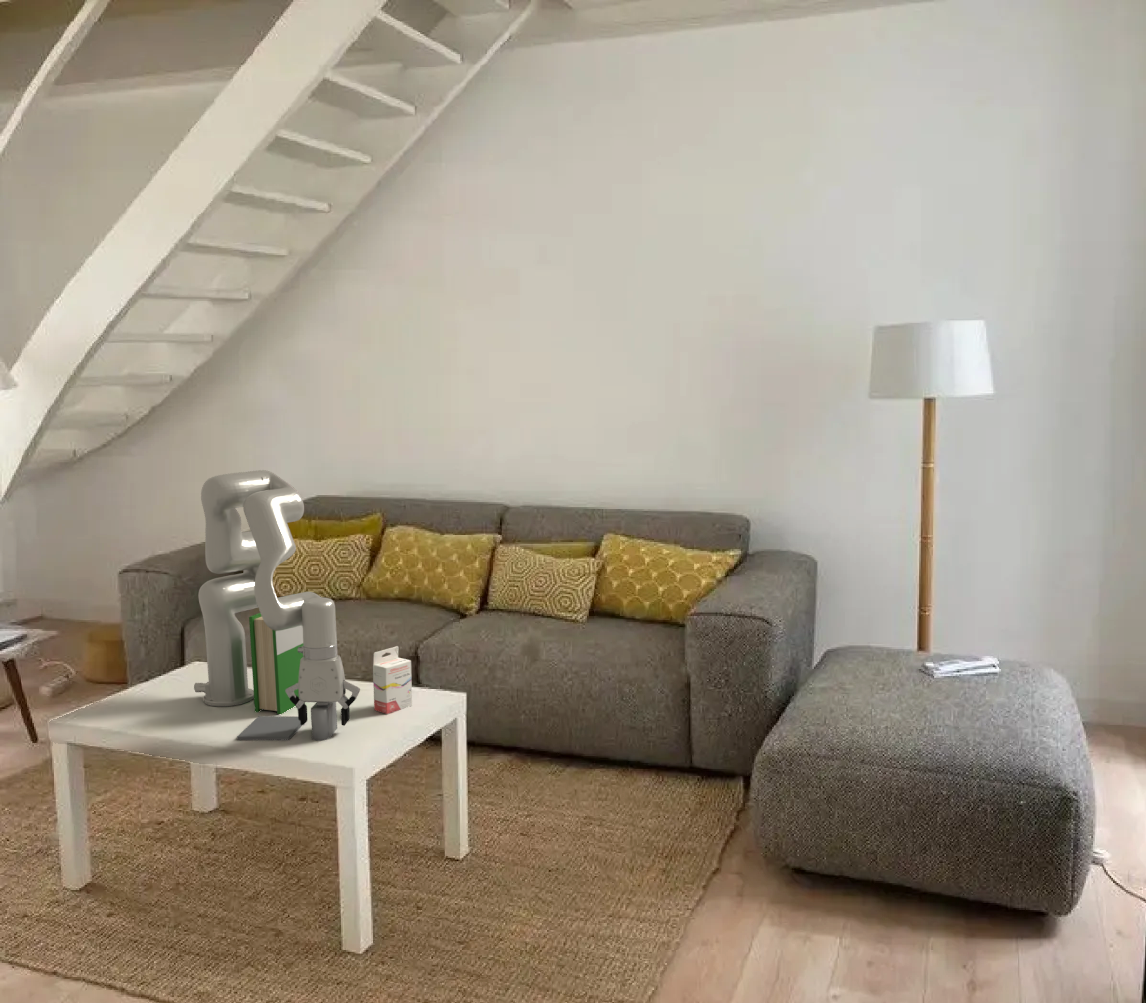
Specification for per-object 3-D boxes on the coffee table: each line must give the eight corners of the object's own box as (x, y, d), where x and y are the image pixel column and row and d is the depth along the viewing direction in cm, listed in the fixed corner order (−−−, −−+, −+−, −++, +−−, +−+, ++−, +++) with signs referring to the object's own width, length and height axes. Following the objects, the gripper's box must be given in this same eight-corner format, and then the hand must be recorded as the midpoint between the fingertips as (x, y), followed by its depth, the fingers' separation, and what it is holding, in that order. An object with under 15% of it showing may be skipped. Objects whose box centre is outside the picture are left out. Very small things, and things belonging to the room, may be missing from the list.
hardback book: (280, 714, 279) (274, 619, 275) (254, 712, 281) (249, 617, 278) (320, 693, 295) (315, 602, 292) (295, 690, 298) (290, 600, 294)
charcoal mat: (237, 739, 262) (237, 736, 262) (258, 719, 276) (258, 716, 276) (288, 740, 261) (288, 737, 261) (307, 719, 275) (307, 716, 275)
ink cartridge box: (387, 715, 277) (384, 656, 275) (373, 711, 281) (371, 652, 278) (413, 705, 284) (411, 648, 282) (400, 701, 287) (397, 645, 285)
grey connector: (310, 740, 261) (307, 702, 259) (322, 725, 271) (320, 689, 269) (327, 740, 260) (325, 702, 259) (339, 725, 270) (337, 689, 269)
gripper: (278, 656, 260) (282, 728, 262) (353, 656, 258) (356, 729, 261) (289, 647, 267) (293, 717, 269) (361, 647, 266) (365, 718, 268)
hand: (324, 723), depth 265 cm, fingers open, 9 cm apart
